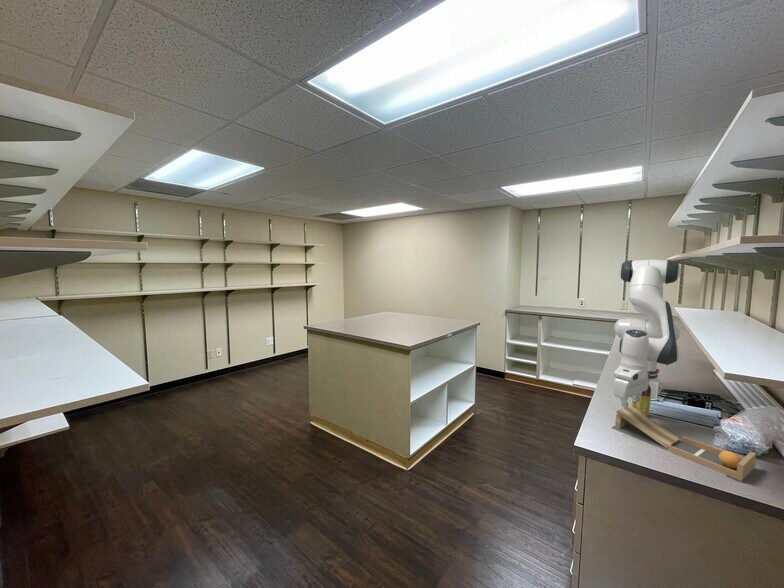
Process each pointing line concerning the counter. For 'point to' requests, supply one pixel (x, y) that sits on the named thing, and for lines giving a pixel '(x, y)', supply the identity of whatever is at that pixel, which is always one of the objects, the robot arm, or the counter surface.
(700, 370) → the counter surface
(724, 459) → the ball
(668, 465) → the counter surface
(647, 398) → the sauce bottle
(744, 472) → the lane
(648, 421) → the ramp
